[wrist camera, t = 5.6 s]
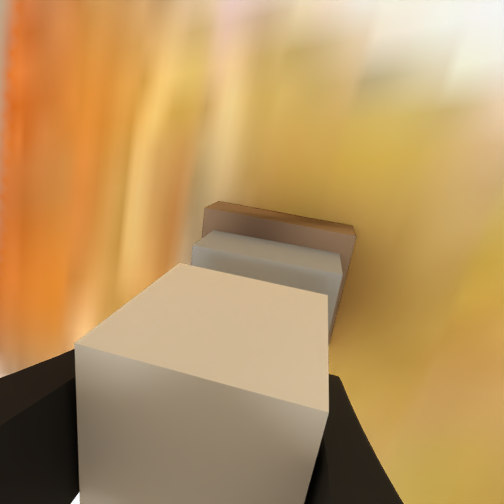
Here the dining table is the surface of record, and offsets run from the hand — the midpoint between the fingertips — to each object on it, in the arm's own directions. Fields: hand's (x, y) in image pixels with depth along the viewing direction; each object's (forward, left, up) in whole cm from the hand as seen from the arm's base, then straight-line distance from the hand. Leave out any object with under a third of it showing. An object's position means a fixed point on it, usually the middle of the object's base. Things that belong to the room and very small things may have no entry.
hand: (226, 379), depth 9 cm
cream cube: (0, 0, -2) cm, 2 cm away
